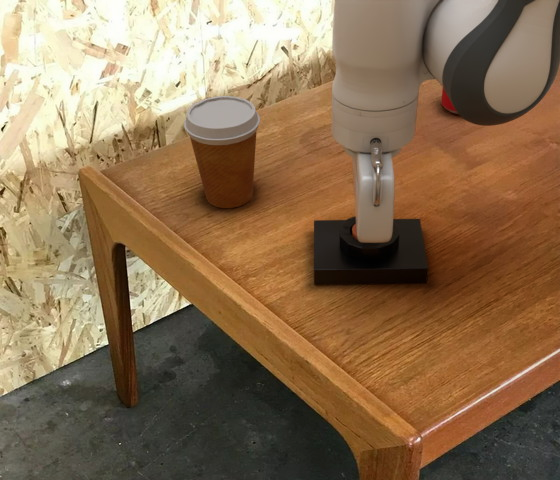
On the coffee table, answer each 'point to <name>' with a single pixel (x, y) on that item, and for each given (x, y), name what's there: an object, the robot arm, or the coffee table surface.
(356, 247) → the housing
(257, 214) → the coffee table surface
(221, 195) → the disposable coffee cup
